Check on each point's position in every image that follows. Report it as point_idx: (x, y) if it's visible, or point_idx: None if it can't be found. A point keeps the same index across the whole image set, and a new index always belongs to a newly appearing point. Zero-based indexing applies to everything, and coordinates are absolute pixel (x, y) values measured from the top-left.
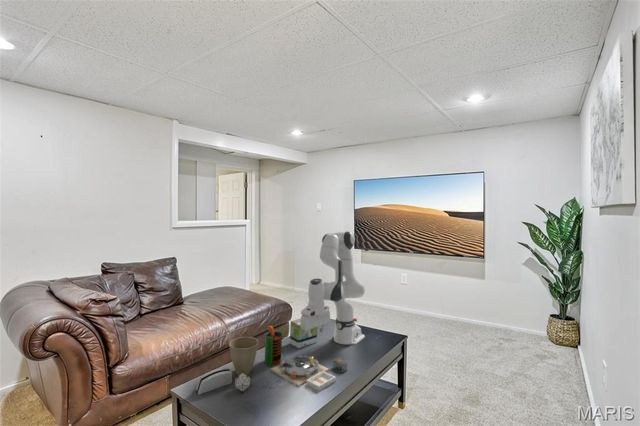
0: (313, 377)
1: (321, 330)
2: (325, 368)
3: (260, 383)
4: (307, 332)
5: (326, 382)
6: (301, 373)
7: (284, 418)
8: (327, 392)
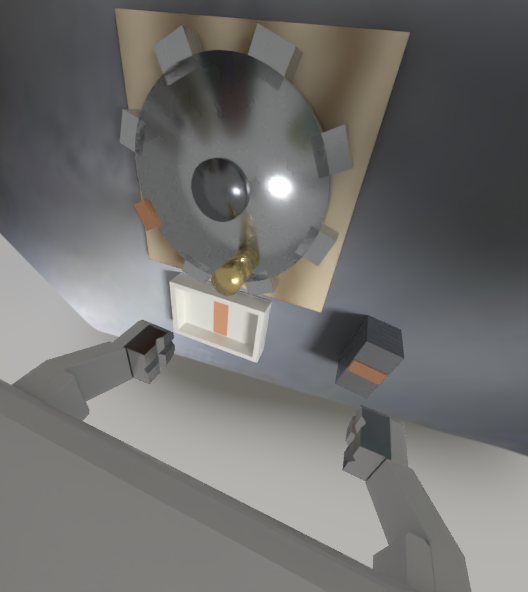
0: (200, 295)
1: (351, 442)
2: (315, 298)
3: (44, 89)
4: (92, 354)
5: (210, 344)
6: (173, 247)
7: (62, 292)
8: (199, 343)
